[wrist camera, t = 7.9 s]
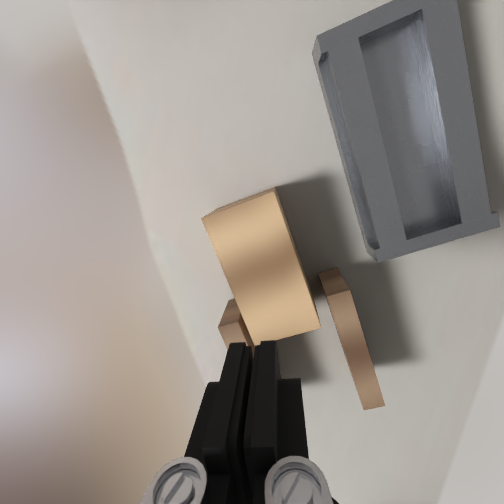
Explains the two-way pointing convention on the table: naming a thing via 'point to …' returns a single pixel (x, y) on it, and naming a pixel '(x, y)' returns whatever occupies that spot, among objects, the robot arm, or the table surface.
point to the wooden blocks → (346, 327)
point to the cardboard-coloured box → (263, 267)
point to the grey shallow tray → (406, 125)
